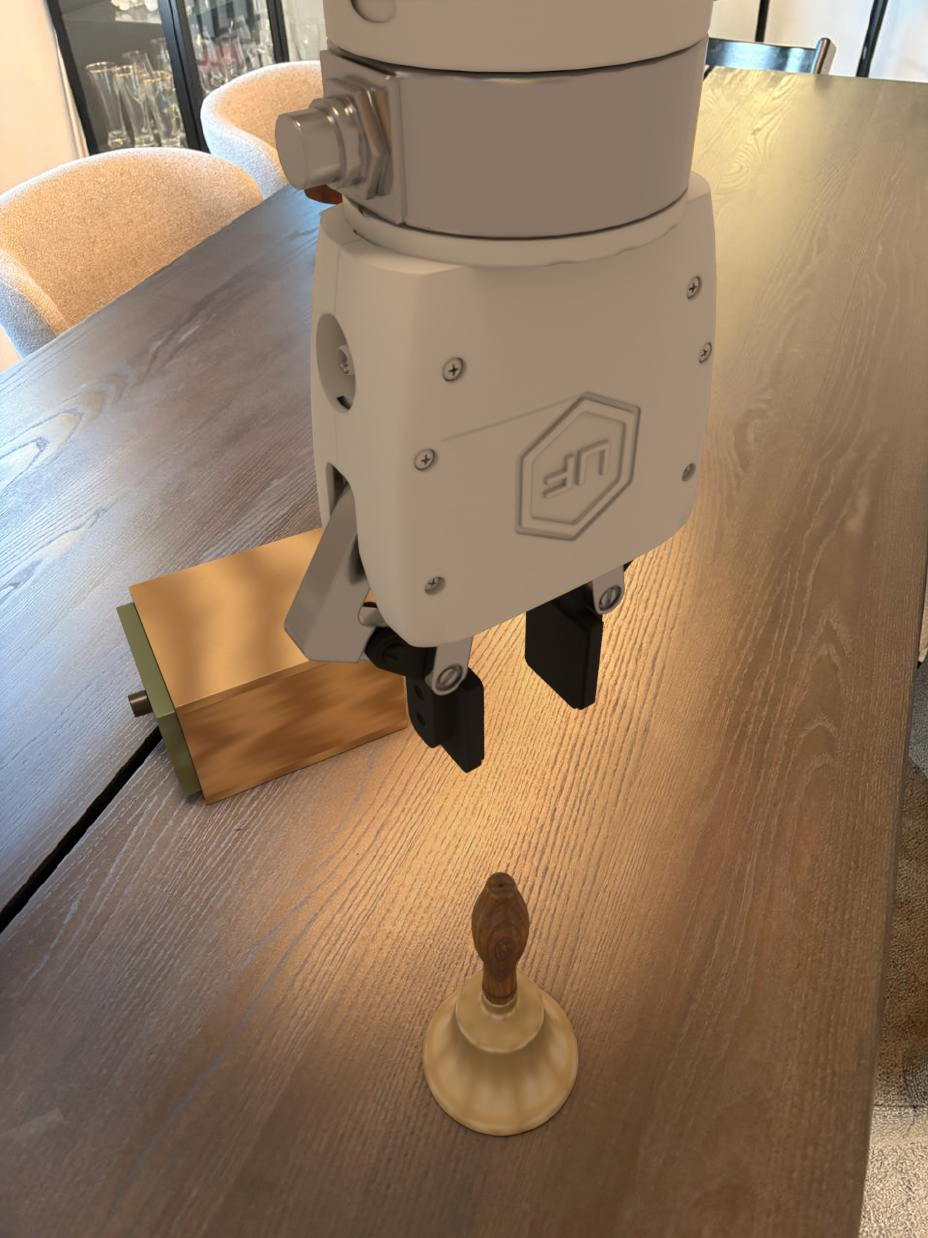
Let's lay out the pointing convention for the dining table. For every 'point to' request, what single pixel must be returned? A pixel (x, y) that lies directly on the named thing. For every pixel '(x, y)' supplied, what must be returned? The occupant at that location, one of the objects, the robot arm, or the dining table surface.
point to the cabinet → (257, 670)
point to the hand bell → (500, 1030)
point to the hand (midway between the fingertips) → (505, 708)
